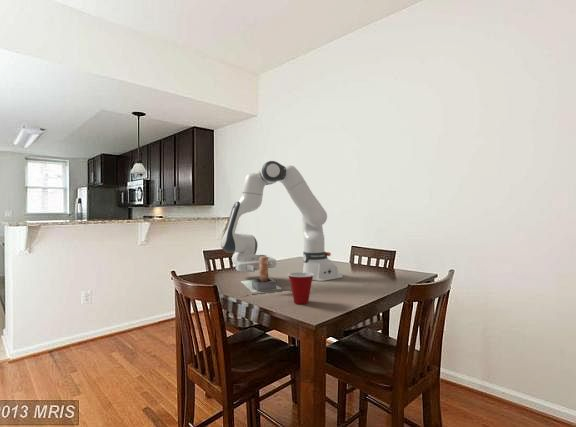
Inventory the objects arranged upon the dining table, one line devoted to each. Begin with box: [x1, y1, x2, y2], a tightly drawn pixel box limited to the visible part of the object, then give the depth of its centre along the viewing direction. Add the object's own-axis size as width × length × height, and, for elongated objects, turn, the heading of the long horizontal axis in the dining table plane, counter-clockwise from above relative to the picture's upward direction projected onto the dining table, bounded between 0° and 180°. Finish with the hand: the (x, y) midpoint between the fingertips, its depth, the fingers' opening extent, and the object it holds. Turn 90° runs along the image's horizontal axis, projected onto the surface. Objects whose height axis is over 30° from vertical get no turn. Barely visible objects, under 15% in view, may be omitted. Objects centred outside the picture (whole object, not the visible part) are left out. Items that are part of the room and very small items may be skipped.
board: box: [240, 276, 283, 296], centre depth 157 cm, size 14×22×5 cm, turn 22°
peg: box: [259, 256, 269, 282], centre depth 152 cm, size 4×4×14 cm
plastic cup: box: [287, 271, 314, 305], centre depth 134 cm, size 11×11×12 cm
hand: (263, 267), depth 152 cm, fingers open, 8 cm apart
